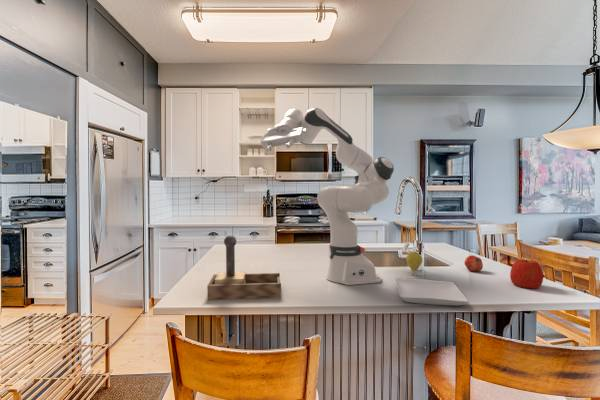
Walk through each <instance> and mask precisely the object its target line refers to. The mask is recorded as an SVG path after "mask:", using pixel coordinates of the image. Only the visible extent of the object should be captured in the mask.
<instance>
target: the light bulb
mask: <svg viewBox="0 0 600 400" xmlns="http://www.w3.org/2000/svg"><path fill="white" fill-rule="evenodd" d="M405 257H406V259H405V261H406V263H407V265H408V266H409V268H410V269H409V273H410V275H411V276H417V274H418V273H419V271H418V269H419V268H420V267H421V265H422V263H423V257H422V255H421V254H420V253H419V252H416V251H412V252H409V253H408V254H407V255H406V256H405Z"/></svg>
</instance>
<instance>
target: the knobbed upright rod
mask: <svg viewBox="0 0 600 400" xmlns="http://www.w3.org/2000/svg"><path fill="white" fill-rule="evenodd" d="M223 244H224V246H225V263H226V264H225V269H226V270H225V271H226V272H218V273H216V274H217V276H216V278H215V284H245V274H246V272H245V271H237V272H236V270H235V269H236V268H235V267H236V266H235V265H236V264H235V263H236V262H235V260H236V258H235V257H236V256H235V254H236V253H235V249H236V248H235V247H236V244H237V239H236V237H235V236H234V235H227V236H225V238H224V240H223Z"/></svg>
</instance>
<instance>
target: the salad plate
mask: <svg viewBox="0 0 600 400" xmlns="http://www.w3.org/2000/svg"><path fill="white" fill-rule="evenodd" d="M395 282H396V285H397V289H398V295H399V298H400V299H401V300H402V301H404V302H406V303H412V304H425V305H436V306H437V305H439V306H452V307H453V306H455V307H456V306H457V307H458V306H459V307H460V306H463V305H466V304H467V303H468V302H469V300H468V299H467V297H466V296H465V295H464V294H463V292H462V291H460V289H459V287H458V286H457V285H456V284H455V283H454V282H452V281H446V280H445V281H444V280H432V279H421V278H419V279H417V278H401V277H400V278H399V277H396V278H395Z"/></svg>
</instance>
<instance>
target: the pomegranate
mask: <svg viewBox="0 0 600 400" xmlns="http://www.w3.org/2000/svg"><path fill="white" fill-rule="evenodd" d="M482 260H483V259H481V258H480V257H479V256H476V255H474V254H473V255H469V256H467V257H466V258H465V260H464V262H463V263H464V266H465V267H466V269H467V270H468V271H470V272H481V271H482V269H483V268H484V264H483V261H482Z"/></svg>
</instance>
